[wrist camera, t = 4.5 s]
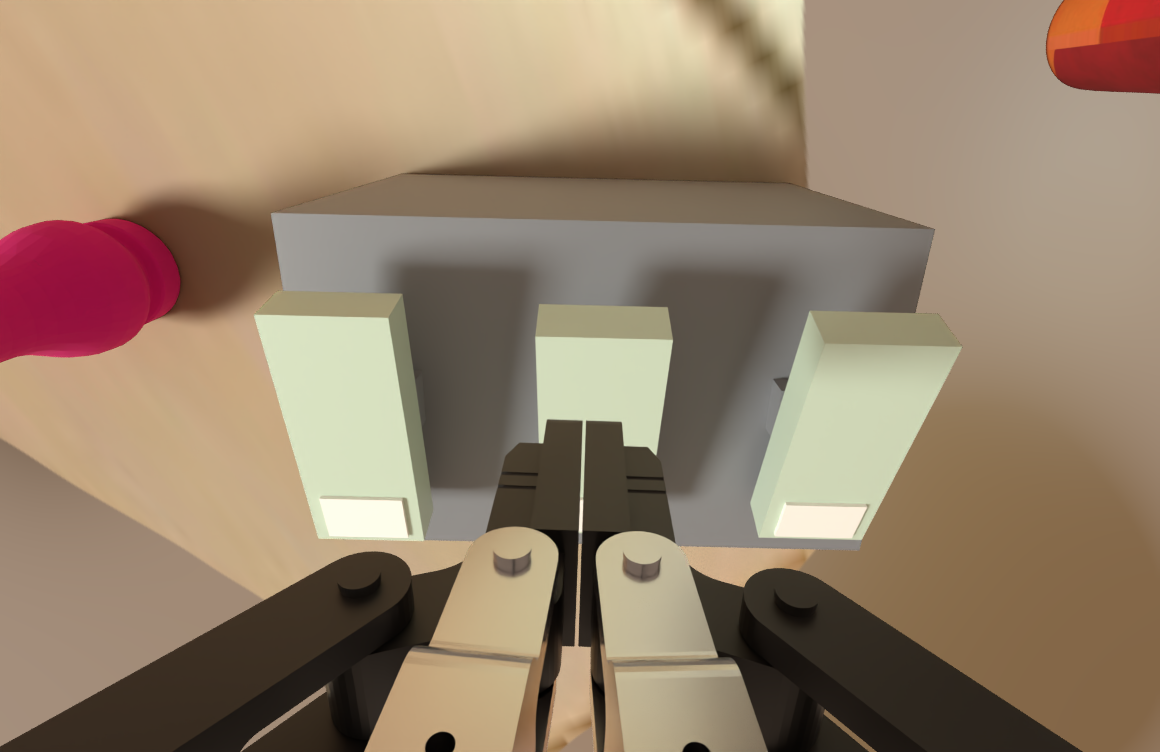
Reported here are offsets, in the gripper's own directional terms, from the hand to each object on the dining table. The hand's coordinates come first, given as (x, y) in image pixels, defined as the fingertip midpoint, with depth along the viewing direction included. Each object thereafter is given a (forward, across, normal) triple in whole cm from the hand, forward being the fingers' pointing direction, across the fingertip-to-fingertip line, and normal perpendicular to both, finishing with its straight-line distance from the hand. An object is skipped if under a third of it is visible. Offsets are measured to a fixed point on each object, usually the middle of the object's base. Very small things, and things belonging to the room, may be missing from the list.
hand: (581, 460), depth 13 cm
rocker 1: (+7, +8, +4) cm, 11 cm away
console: (+26, 0, +4) cm, 26 cm away
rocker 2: (+7, 0, +3) cm, 8 cm away
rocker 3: (+8, -8, +3) cm, 12 cm away
